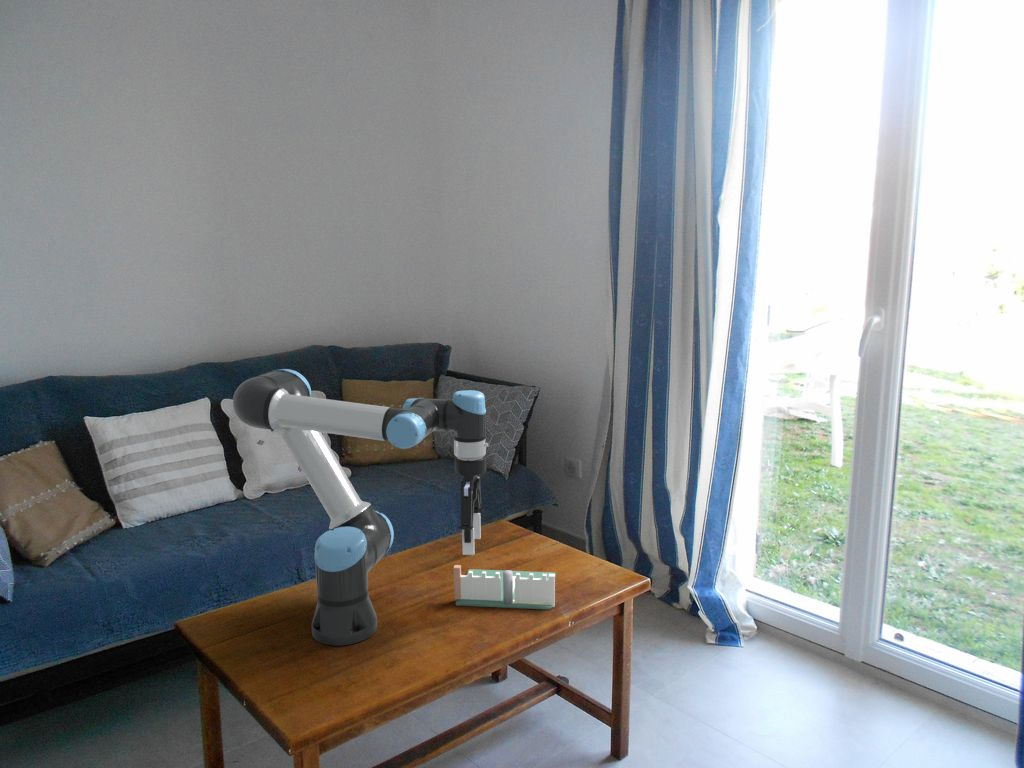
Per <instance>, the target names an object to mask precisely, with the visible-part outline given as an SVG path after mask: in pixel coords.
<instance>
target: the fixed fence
mask: <svg viewBox="0 0 1024 768" xmlns="http://www.w3.org/2000/svg"><path fill="white" fill-rule="evenodd" d="M512 571H513V570H511V569H506V570H504V571H503V602H504V603H506V604H511V603H512V602H513V572H512ZM555 582H556V576H555V574H549V579H547V574H543V579H542V578H533V573H530V574H529V578H520V573H516V577H515V601H516V602H520V601H522V602H543V603H549V604H552V608H555V606H556V603H555V602H556V598H555V597H556V589H555V587H556V583H555Z"/></svg>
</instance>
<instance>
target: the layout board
mask: <svg viewBox="0 0 1024 768" xmlns="http://www.w3.org/2000/svg"><path fill="white" fill-rule="evenodd" d="M469 571H473V576H482V572H483V571H486V576H492V577H495V574H496V572H500V577H501V601H500V600H499V601H496V600H477V599H473V600H471V599H461V600H460V599H456V602H455V606H461V607H462V606H463V607H465V606H466V607H488V608H504V609H505V608H506V609H507V608H508V609H527V610H528V609H529V610H531V609H532V610H535V609H536V610H552V608H553V607H552V604H549V603H543V602H522V601H520V602H516V601H515V577H516V573H520V578H529V574H530V573H533V578H542V579H543V574H547V579H549V574H555V577H556V575H557V572H555V571H554V572H552V571H551V572H550V571H548V572H547V571H527V570H526V571H524V570H520V571H519V570H511V571H512V572H513V602H512V603H511V604H506V603H504V602H503V571H505V570H504V569H503V570H501V569H500V570H499V569H498V570H497V569H478V568H477V569H475V568H472V569H470V568H469V569H468V570H467V573H466V575H468V576H469Z"/></svg>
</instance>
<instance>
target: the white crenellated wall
mask: <svg viewBox="0 0 1024 768" xmlns="http://www.w3.org/2000/svg"><path fill="white" fill-rule="evenodd" d="M468 571H469V570H468ZM453 598H454V599H453V600H457V599H460V600H461V599H471V600H473V599H477V600H496V601H499V600H500V601H501V577H500V572H496V574H495V577H492V576H486V571H483V572H482V576H473V571H469V576H468V575H467V574H466V575H464V574H462V565H461V564H454V566H453Z"/></svg>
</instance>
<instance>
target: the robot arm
mask: <svg viewBox="0 0 1024 768" xmlns="http://www.w3.org/2000/svg"><path fill="white" fill-rule="evenodd" d="M311 395H312V389H311V385H310V383H309V381H308V380H307V379H306V377H305V376H304V375H302V374H301V373H299V372H298V371H296V370H293V369H289V368H282V369H281V368H280V369H273V370H271V371H269V372H267V373H263V374H259V375H258V376H254V377H251V378H248V379H246V380H244V381H243V382H242V383H240V385H238V387H237V388H236V390H235V391H234V394H233V397H232V406H233V412H234V413H235V415H236V417H237V418H238V419H239V420H240V421H241V422H242V423H244V424H245V425H247V426H249V427H252V428H257V429H261V430H270V432H271V433H272V434H274V435H278V436H280V437H282V439H283V441H284V443H285V444H286V446H287V448H288V449H289V450H290V453H291V454H292V456H293V457H294V460H295V461H296V463H297V465H298V466H299V468H300V470H301V471H302V473H303V474H304V476H305V478H306V479H307V481H308V483H309V484H310V486H311V488H312V489H313V491H314V493H315V494H316V496H317V499H318V500H319V502H320V503H321V505H322V506H323V508H324V510H325V512H326V514H327V515H328V516H329V519H330V521H329V522H330V523H329V526H328V529H329V530H327V531H325V532H324V533H322V534H321V535H320V536H318V538H317V540H316V542H315V543H314V544H315V546H314V553H313V554H314V555H313V559H314V563H315V564H314V565H315V578H316V591H317V593H316V594H317V602H316V603H317V604H316V607H315V611H314V615H313V618H312V620H311V621H312V622H311V636H312V637H313V639H314V640H315V641H316V642H318V643H320V644H323V645H328V646H339V647H340V646H341V647H342V646H349V645H353V644H358V643H360V642H363V641H365V640H367V639H368V638H370V637H372V636H373V635H374V633H375V632H376V631H377V629H378V617H377V613H376V611H375V608H374V605H373V603H372V601H371V599H370V596H369V578H368V574H369V572H370V571H371V570H372V569H373V568H374V567H375V566H376V565H377V563H379V562H380V560H382V559H383V558H384V557H385V556H386V555H387V554H388V552H389V550H390V549H391V547H392V545H393V542H394V538H395V537H394V536H395V533H394V527H393V524H392V522H391V521H390V519H389V518H388V517H387V516H386V514H384V513H383V512H379V511H378V510H375V509H374V508H373V505H372V504H371V503H370V502H368V501H363V500H362V499H361V498H360V496H359V494H358V493H357V491H356V490H355V487H354V486H353V484H352V482H351V481H350V480H349V477H348V476H347V474H346V472H345V471H344V468H343V467H342V465H341V464H340V461H339V460H338V459H337V457H336V455H335V454H334V452H333V450H332V449H331V446H330V445H329V444H328V442H327V440H326V439H325V436H324V434H333V435H340V436H347V437H355V438H361V439H370V440H375V441H384V442H389V443H390V444H391V445H393V447H396V448H397V449H402V450H407V449H410V448H412V447H416V446H417V445H418V444H419V443H421V442H422V441H423V440H424V439H425V438H427V436H429V435H430V434H432V433H433V432H436V431H437V432H453V456H455V457H454V472H455V474H457V475H458V476H462V477H463V478H462V481H461V484H460V526H458V530H461V539H462V547H461V548H462V555H463V556H466V555H467V556H475V553H476V552H475V540H481V537H482V535H481V531H482V529H481V525H482V524H481V513H484V507H482V506H483V505H482V496H481V495H482V493H481V492H482V491H481V489H482V488H481V475H484V474H485V473H486V471H487V457H486V456H485V455H486V454H487V447H489V443H488V442H486V441H487V439H486V438H487V436H486V435H487V434H486V433H487V431H486V429H487V428H486V427H487V425H486V422H487V420H486V418H487V417H486V416H487V415H486V414H487V409H486V401H485V399H486V398H485V394H484V393H483V392H481V391H479V390H475V389H473V390H472V389H471V390H470V389H467V390H459V391H455V392H453V395H452V399H442V398H441V399H440V398H424V397H418V398H407V399H406V400H405V402H403V403H404V404H403V405H402V408H395V407H391V406H390V407H389V406H383V405H382V406H381V405H373V404H367V403H366V404H365V403H359V402H351V401H344V400H336V399H328V398H320V397H313V396H311ZM323 433H324V434H323Z"/></svg>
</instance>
